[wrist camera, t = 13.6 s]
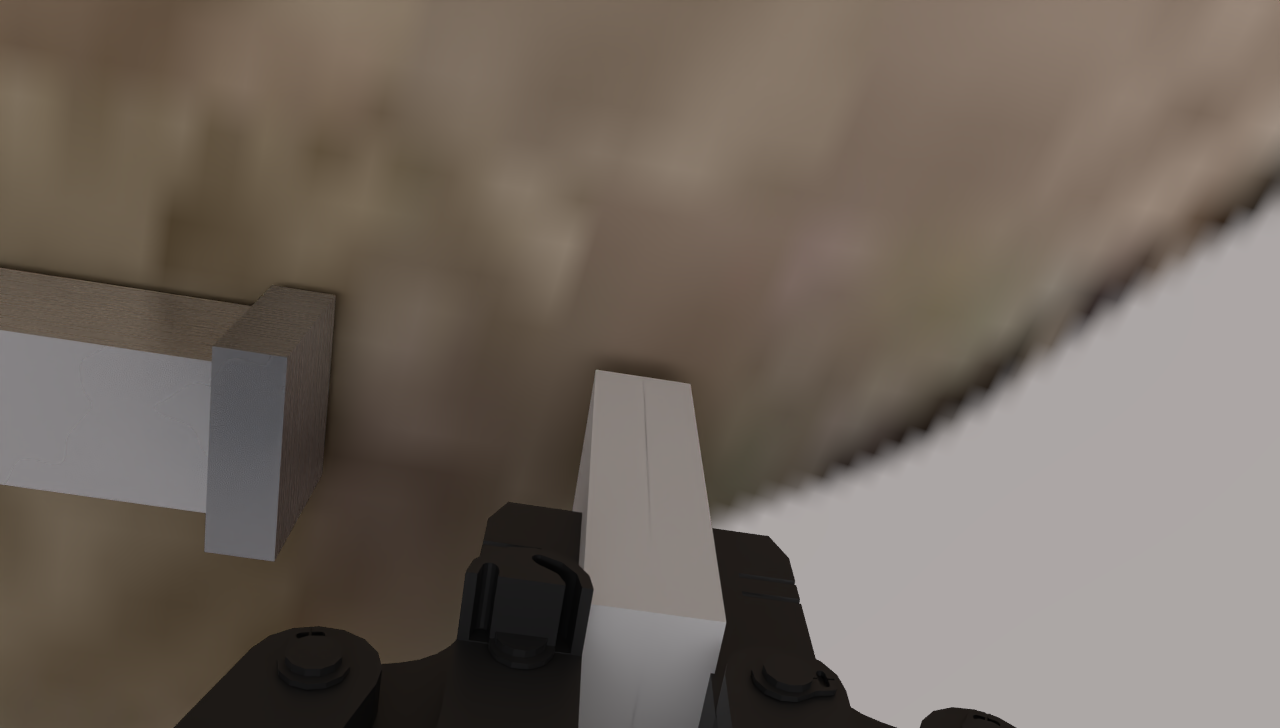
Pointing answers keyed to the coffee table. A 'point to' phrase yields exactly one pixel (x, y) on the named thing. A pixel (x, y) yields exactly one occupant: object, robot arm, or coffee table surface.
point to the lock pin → (167, 401)
